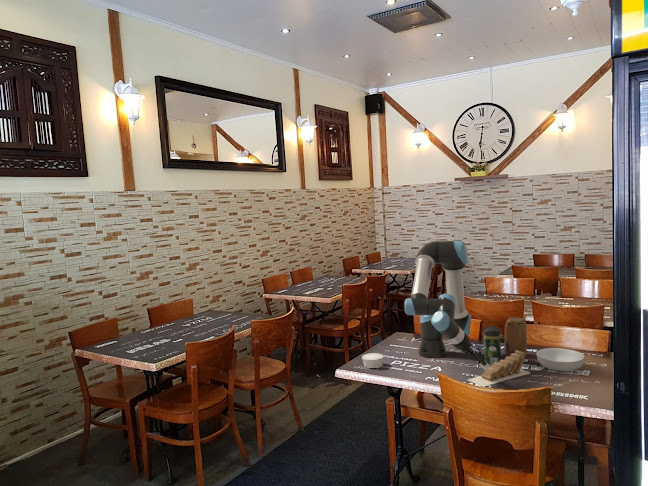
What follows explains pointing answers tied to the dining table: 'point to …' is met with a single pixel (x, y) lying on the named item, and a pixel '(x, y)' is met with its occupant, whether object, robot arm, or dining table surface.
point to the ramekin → (373, 360)
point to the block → (515, 335)
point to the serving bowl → (560, 359)
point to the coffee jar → (492, 345)
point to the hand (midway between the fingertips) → (487, 367)
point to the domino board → (484, 382)
